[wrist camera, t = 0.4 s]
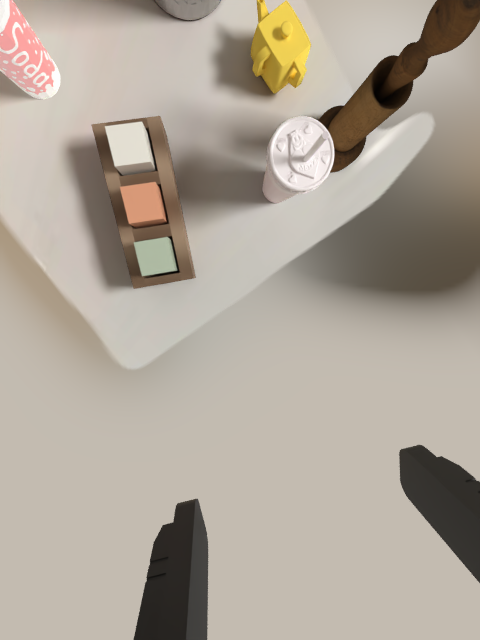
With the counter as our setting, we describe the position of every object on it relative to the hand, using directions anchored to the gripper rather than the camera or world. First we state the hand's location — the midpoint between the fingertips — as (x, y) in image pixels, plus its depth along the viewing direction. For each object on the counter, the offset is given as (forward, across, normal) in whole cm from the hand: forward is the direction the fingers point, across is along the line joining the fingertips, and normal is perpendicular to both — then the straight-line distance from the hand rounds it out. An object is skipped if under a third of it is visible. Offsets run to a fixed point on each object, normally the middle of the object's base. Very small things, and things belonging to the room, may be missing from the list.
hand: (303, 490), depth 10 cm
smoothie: (+27, -8, -17) cm, 33 cm away
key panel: (+27, +8, -16) cm, 32 cm away
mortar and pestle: (+27, -16, -21) cm, 38 cm away
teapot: (+28, -10, -30) cm, 42 cm away
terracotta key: (+24, +8, -16) cm, 30 cm away
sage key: (+24, +8, -11) cm, 28 cm away
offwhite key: (+25, +7, -22) cm, 34 cm away
